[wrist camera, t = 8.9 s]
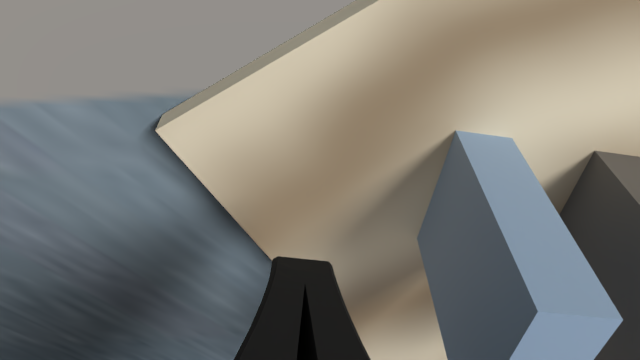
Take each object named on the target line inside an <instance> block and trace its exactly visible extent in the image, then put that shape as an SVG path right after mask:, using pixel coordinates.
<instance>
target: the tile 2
mask: <svg viewBox="0 0 640 360" xmlns="http://www.w3.org/2000/svg"><path fill="white" fill-rule="evenodd" d="M559 216H560V217H561V219H562V221H563V222H564V224H565V225H566V227H567V229H568V230H569V232H570V234H571V235H572V237H573V239H574V240H575V242H576V243H577V245H578V247H579V248H580V250H581V252H582V253H583V255H584V257H585V258H586V260H587V261H588V263H589V265H590V266H591V268H592V270H593V271H594V273H595V274H596V276H597V278H598V279H599V281H600V283H601V284H602V286H603V288H604V289H605V291H606V292H607V294H608V296H609V297H610V299H611V301H612V302H613V304H614V306H615V307H616V309H617V310H618V312H619V314H620V315H621V317H622V319H623V321H622V322H621V324H620V325H619V326H618V328H617V329H616V330H615V332H614V333H613V334H612V336H611V337H610V338H609V340H608V341H607V343H606V344H605V345H604V347H603V348H602V349H601V351H600V352H599V353H598V355H597V356H596V357H595V359H594V360H640V157H638V156H631V155H623V154H616V153H609V152H601V151H594V153H593V154H592V156H591V158H590V160H589V162H588V164H587V165H586V167H585V169H584V171H583V173H582V174H581V176H580V178H579V180H578V182H577V184H576V185H575V187H574V189H573V191H572V193H571V195H570V196H569V198H568V200H567V202H566V204H565V205H564V207H563V209H562V211H561V213H560V215H559Z"/></svg>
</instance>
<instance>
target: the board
mask: <svg viewBox="0 0 640 360" xmlns="http://www.w3.org/2000/svg"><path fill="white" fill-rule="evenodd" d="M456 130H457V131H464V132H471V133H479V134H486V135H493V136H501V137H508V138H512V139H513V140H514V142H515V144H516V145H517V147H518V149H519V150H520V152H521V153H522V155H523V157H524V158H525V160H526V162H527V163H528V165H529V167H530V168H531V170H532V171H533V173H534V175H535V176H536V178H537V180H538V181H539V183H540V185H541V186H542V188H543V189H544V191H545V193H546V194H547V196H548V198H549V199H550V201H551V203H552V204H553V206H554V207H555V209H556V211H557V212H558V214H559V215H560V213H561V211H562V209H563V207H564V205H565V204H566V202H567V200H568V198H569V196H570V195H571V193H572V191H573V189H574V187H575V185H576V184H577V182H578V180H579V178H580V176H581V174H582V173H583V171H584V169H585V167H586V165H587V164H588V162H589V160H590V158H591V156H592V154H593V153H594V151H601V152H609V153H616V154H623V155H631V156H638V157H640V0H355V1H354V2H352V3H350V4H349V5H347V6H345V7H344V8H342V9H340V10H339V11H337V12H335V13H334V14H332V15H330V16H328V17H327V18H325V19H323V20H322V21H320V22H318V23H316V24H315V25H313V26H311V27H310V28H308V29H307V30H305V31H303V32H301V33H300V34H298V35H296V36H294V37H293V38H291V39H289V40H288V41H286V42H284V43H283V44H281V45H279V46H278V47H276V48H274V49H272V50H271V51H269V52H268V53H266V54H264V55H262V56H261V57H259V58H257V59H256V60H254V61H252V62H250V63H249V64H247V65H246V66H244V67H242V68H240V69H239V70H237V71H235V72H234V73H232V74H230V75H229V76H227V77H225V78H223V79H222V80H220V81H218V82H217V83H215V84H213V85H212V86H210V87H208V88H206V89H205V90H203V91H201V92H200V93H198V94H196V95H195V96H193V97H191V98H190V99H188V100H186V101H184V102H183V103H181V104H179V105H178V106H176V107H174V108H173V109H171V110H169V111H168V112H166V113H164V114H162V117H161V119H160V121H159V123H158V125H157V127H156V130H155V131H156V132H157V133H158V134H159V135H160V137H161V138H162V139H163V140H164V141H165V142H166V143H167V144H168V145H169V147H170V148H171V149H172V150H173V151H174V152H175V153H176V154H177V156H178V157H179V158H180V159H181V160H182V161H183V162H184V163H185V164H186V166H187V167H188V168H189V169H190V170H191V171H192V172H193V173H194V174H195V176H196V177H197V178H198V179H199V180H200V181H201V182H202V183H203V184H204V186H205V187H206V188H207V189H208V190H209V191H210V192H211V193H212V194H213V196H214V197H215V198H216V199H217V200H218V201H219V202H220V203H221V204H222V206H223V207H224V208H225V209H226V210H227V211H228V212H229V213H230V214H231V216H232V217H233V218H234V219H235V220H236V221H237V222H238V223H239V225H240V226H241V227H242V228H243V229H244V230H245V231H246V232H247V233H248V235H249V236H250V237H251V238H252V239H253V240H254V241H255V242H256V243H257V245H258V246H259V247H260V248H261V249H262V250H263V251H264V252H265V253H266V255H267V256H268V257H269V258H270V259H271V260H273V259H274V258H276V257H277V256H281V257H291V258H300V259H310V260H320V261H329V262H330V264H331V265H332V266H333V270H334V274H335V277H336V280H337V283H338V286H339V289H340V292H341V295H342V297H343V300H344V302H345V305H346V307H347V310H348V312H349V315H350V317H351V319H352V322H353V324H354V326H355V328H356V330H357V333H358V335H359V337H360V339H361V341H362V343H363V345H364V347H365V349H366V351H367V353H368V355H369V357H370V359H371V360H448V359H447V355H446V351H445V347H444V344H443V340H442V336H441V332H440V328H439V324H438V320H437V316H436V312H435V308H434V304H433V300H432V296H431V292H430V288H429V284H428V280H427V276H426V272H425V268H424V264H423V260H422V256H421V253H420V249H419V245H418V241H417V237H418V234H419V231H420V228H421V226H422V223H423V220H424V217H425V215H426V212H427V209H428V206H429V203H430V201H431V198H432V195H433V192H434V189H435V187H436V184H437V181H438V178H439V176H440V173H441V170H442V167H443V164H444V162H445V159H446V156H447V153H448V151H449V148H450V145H451V142H452V139H453V137H454V134H455V131H456Z"/></svg>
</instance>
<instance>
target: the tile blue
mask: <svg viewBox="0 0 640 360" xmlns="http://www.w3.org/2000/svg"><path fill="white" fill-rule="evenodd" d="M417 241H418V245H419V249H420V253H421V256H422V260H423V264H424V268H425V272H426V276H427V280H428V284H429V288H430V292H431V296H432V300H433V304H434V308H435V312H436V316H437V320H438V324H439V328H440V332H441V336H442V340H443V344H444V347H445V351H446V355H447V359H448V360H594V359H595V357H596V356H597V355H598V353H599V352H600V351H601V349H602V348H603V347H604V345H605V344H606V343H607V341H608V340H609V338H610V337H611V336H612V334H613V333H614V332H615V330H616V329H617V328H618V326H619V325H620V324H621V322H622V321H623V319H622V317H621V315H620V314H619V312H618V310H617V309H616V307H615V306H614V304H613V302H612V301H611V299H610V297H609V296H608V294H607V292H606V291H605V289H604V288H603V286H602V284H601V283H600V281H599V279H598V278H597V276H596V274H595V273H594V271H593V270H592V268H591V266H590V265H589V263H588V261H587V260H586V258H585V257H584V255H583V253H582V252H581V250H580V248H579V247H578V245H577V243H576V242H575V240H574V239H573V237H572V235H571V234H570V232H569V230H568V229H567V227H566V225H565V224H564V222H563V221H562V219H561V217H560V216H559V214H558V212H557V211H556V209H555V207H554V206H553V204H552V203H551V201H550V199H549V198H548V196H547V194H546V193H545V191H544V189H543V188H542V186H541V185H540V183H539V181H538V180H537V178H536V176H535V175H534V173H533V171H532V170H531V168H530V167H529V165H528V163H527V162H526V160H525V158H524V157H523V155H522V153H521V152H520V150H519V149H518V147H517V145H516V144H515V142H514V140H513V139H512V138H508V137H501V136H493V135H486V134H479V133H471V132H464V131H457V130H456V131H455V134H454V137H453V139H452V142H451V145H450V148H449V151H448V153H447V156H446V159H445V162H444V164H443V167H442V170H441V173H440V176H439V178H438V181H437V184H436V187H435V189H434V192H433V195H432V198H431V201H430V203H429V206H428V209H427V212H426V215H425V217H424V220H423V223H422V226H421V228H420V231H419V234H418V237H417Z"/></svg>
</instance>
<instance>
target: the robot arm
mask: <svg viewBox="0 0 640 360" xmlns="http://www.w3.org/2000/svg"><path fill="white" fill-rule="evenodd" d="M234 360H371V359H370V357H369V355H368V353H367V351H366V349H365V347H364V345H363V343H362V341H361V339H360V337H359V335H358V333H357V330H356V328H355V326H354V324H353V322H352V319H351V317H350V315H349V312H348V310H347V307H346V305H345V302H344V300H343V297H342V295H341V292H340V289H339V286H338V283H337V280H336V277H335V274H334V270H333V266H332V265H331V264H330V262H329V261H320V260H310V259H300V258H291V257H281V256H277V257H276V258H274V259H273V260H272V267H271V273H270V278H269V281H268V285H267V288H266V291H265V293H264V296H263V299H262V302H261V304H260V306H259V309H258V311H257V313H256V316H255V318H254V320H253V323H252V325H251V327H250V329H249V331H248V333H247V335H246V337H245V339H244V341H243V343H242V345H241V347H240V349H239V351H238V353H237V355H236V357H235V358H234Z"/></svg>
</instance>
